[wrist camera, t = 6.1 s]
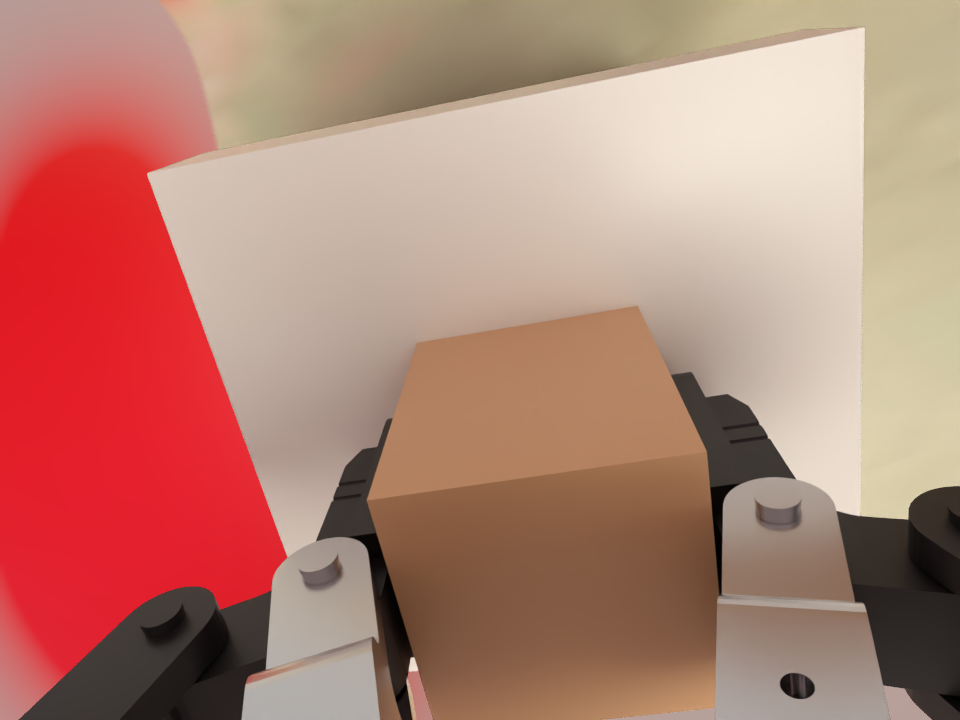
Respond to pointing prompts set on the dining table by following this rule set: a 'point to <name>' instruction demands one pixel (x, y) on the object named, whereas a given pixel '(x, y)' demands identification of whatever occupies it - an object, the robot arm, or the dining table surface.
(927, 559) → the robot arm
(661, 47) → the dining table surface
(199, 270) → the lid
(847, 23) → the dining table surface
